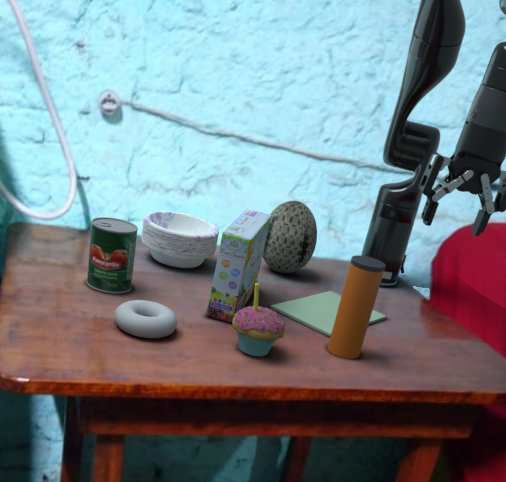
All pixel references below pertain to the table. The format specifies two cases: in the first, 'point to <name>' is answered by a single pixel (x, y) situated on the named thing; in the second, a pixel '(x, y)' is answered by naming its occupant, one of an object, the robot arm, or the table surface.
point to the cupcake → (257, 327)
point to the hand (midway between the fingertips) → (450, 229)
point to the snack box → (238, 264)
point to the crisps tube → (356, 306)
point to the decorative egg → (290, 237)
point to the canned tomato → (111, 255)
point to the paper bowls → (179, 238)
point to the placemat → (317, 311)
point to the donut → (145, 319)
